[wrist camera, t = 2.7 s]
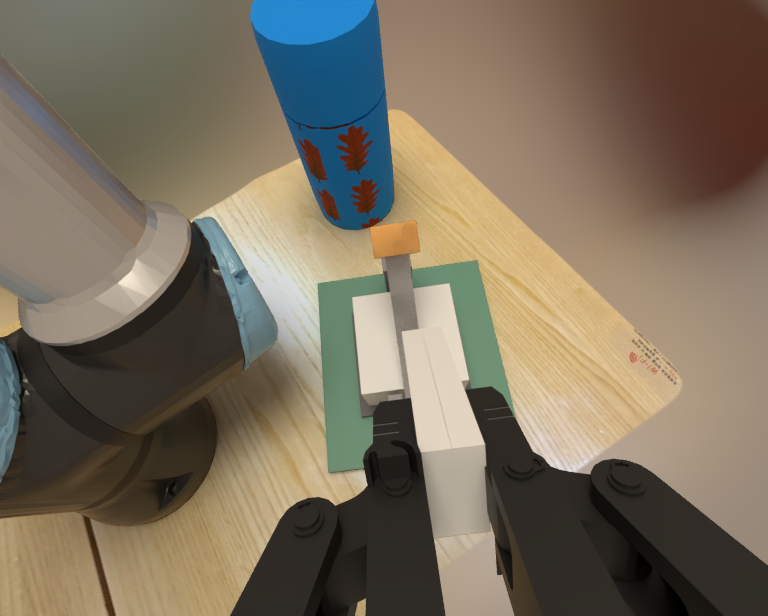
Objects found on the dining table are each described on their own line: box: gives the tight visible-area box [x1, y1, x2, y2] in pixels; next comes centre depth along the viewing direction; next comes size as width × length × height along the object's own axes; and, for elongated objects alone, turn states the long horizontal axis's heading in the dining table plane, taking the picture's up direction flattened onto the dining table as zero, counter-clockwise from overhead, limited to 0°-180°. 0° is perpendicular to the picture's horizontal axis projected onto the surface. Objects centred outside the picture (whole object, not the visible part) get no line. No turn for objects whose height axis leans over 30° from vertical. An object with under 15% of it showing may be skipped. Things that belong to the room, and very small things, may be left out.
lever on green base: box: [318, 254, 516, 473], centre depth 41 cm, size 20×22×11 cm
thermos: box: [250, 0, 394, 230], centre depth 44 cm, size 11×11×25 cm
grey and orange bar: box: [370, 220, 420, 398], centre depth 33 cm, size 4×16×4 cm
